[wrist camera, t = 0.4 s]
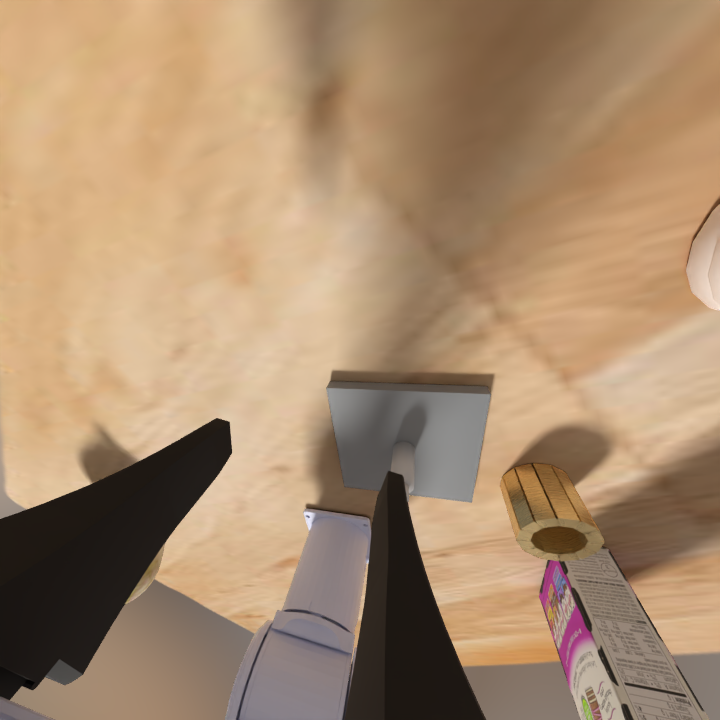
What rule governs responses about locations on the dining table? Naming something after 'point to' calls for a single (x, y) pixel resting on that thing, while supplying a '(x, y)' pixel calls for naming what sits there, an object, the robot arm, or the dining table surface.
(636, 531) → the dining table surface
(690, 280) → the bottle
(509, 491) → the collar
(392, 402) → the stand
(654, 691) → the candy bar box
